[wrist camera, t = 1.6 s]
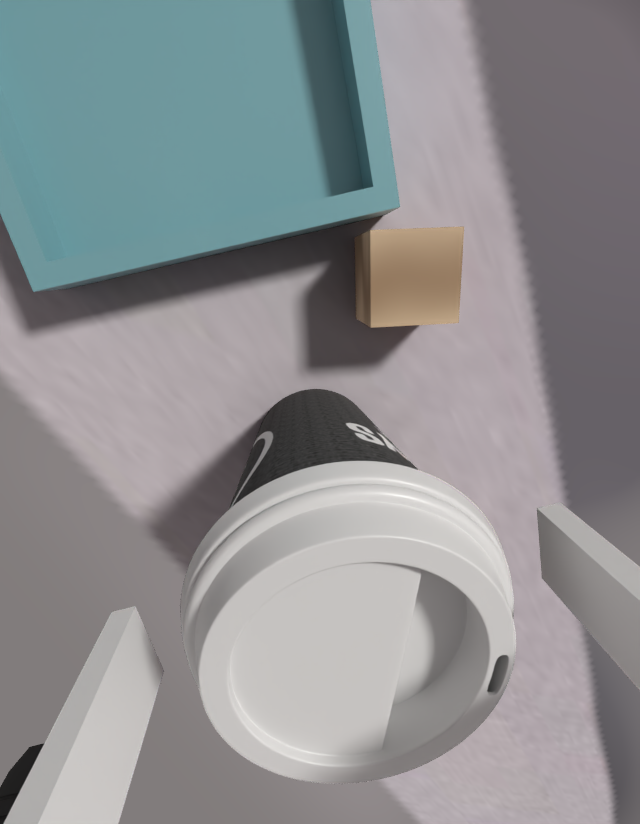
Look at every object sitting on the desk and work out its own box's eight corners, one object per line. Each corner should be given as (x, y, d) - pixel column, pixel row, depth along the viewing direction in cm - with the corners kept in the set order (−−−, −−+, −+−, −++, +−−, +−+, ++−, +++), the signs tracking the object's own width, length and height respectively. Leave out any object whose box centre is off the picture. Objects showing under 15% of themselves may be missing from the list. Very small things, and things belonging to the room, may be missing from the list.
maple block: (354, 237, 22) (370, 230, 18) (432, 234, 22) (464, 226, 18) (355, 318, 23) (370, 327, 19) (429, 314, 23) (458, 322, 19)
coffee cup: (344, 539, 27) (417, 836, 13) (202, 477, 25) (98, 752, 11) (427, 409, 25) (625, 595, 11) (278, 329, 23) (278, 428, 8)
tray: (-108, -150, 16) (-192, -241, 13) (312, -240, 16) (320, -349, 13) (66, 289, 21) (33, 291, 18) (384, 215, 21) (399, 207, 19)
